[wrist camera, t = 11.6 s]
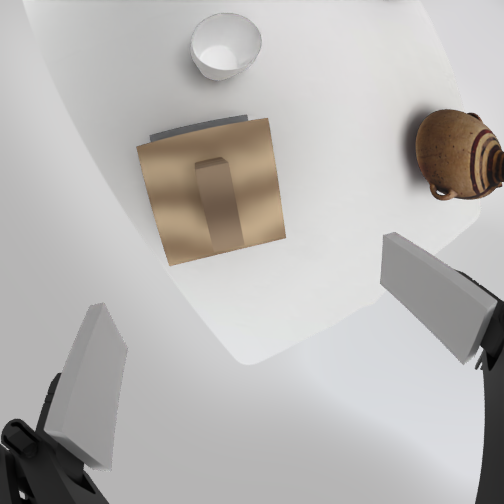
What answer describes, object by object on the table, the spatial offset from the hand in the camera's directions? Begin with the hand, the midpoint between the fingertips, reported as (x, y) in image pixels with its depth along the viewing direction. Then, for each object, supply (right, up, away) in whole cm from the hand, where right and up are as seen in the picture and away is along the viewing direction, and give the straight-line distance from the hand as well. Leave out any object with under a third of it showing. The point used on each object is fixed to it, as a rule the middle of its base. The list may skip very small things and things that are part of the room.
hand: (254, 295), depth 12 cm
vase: (+39, +25, +39) cm, 60 cm away
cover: (-7, +14, +32) cm, 36 cm away
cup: (-6, +33, +26) cm, 42 cm away
